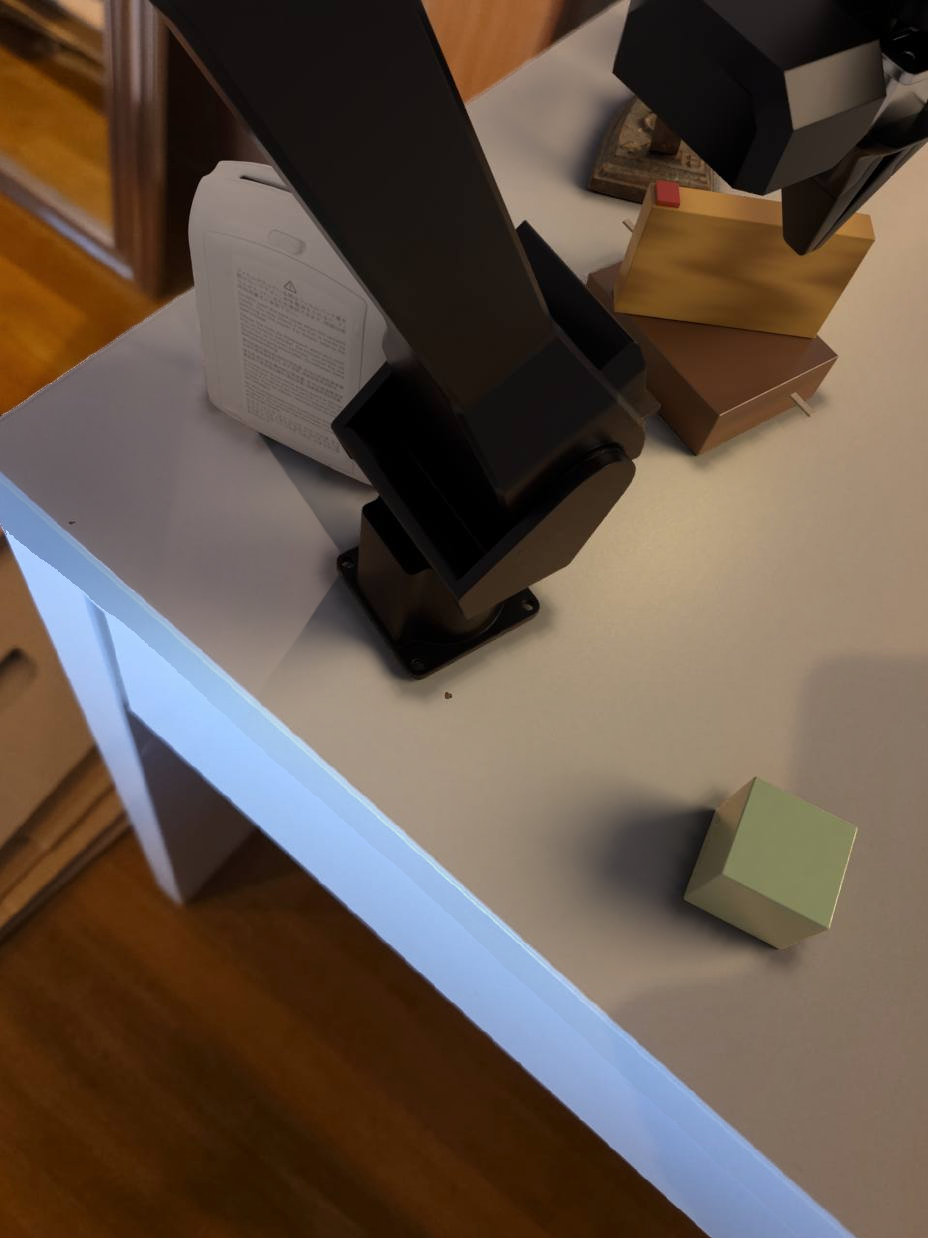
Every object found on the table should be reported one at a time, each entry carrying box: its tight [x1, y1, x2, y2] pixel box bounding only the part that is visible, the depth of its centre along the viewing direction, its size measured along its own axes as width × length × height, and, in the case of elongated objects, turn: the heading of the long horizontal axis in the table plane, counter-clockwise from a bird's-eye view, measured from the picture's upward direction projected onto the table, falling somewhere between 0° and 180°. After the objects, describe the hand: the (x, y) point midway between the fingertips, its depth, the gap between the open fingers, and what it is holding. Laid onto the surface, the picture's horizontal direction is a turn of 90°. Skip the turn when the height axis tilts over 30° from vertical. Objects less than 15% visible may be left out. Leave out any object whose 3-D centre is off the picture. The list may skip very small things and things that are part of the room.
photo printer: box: [187, 160, 387, 487], centre depth 40 cm, size 10×4×12 cm, turn 64°
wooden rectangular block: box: [613, 180, 876, 338], centre depth 45 cm, size 10×2×6 cm, turn 87°
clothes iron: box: [589, 94, 715, 204], centre depth 55 cm, size 7×11×10 cm, turn 171°
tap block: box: [585, 218, 839, 457], centre depth 49 cm, size 14×14×3 cm
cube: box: [683, 776, 859, 950], centre depth 36 cm, size 4×4×4 cm
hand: (799, 245), depth 35 cm, fingers closed
